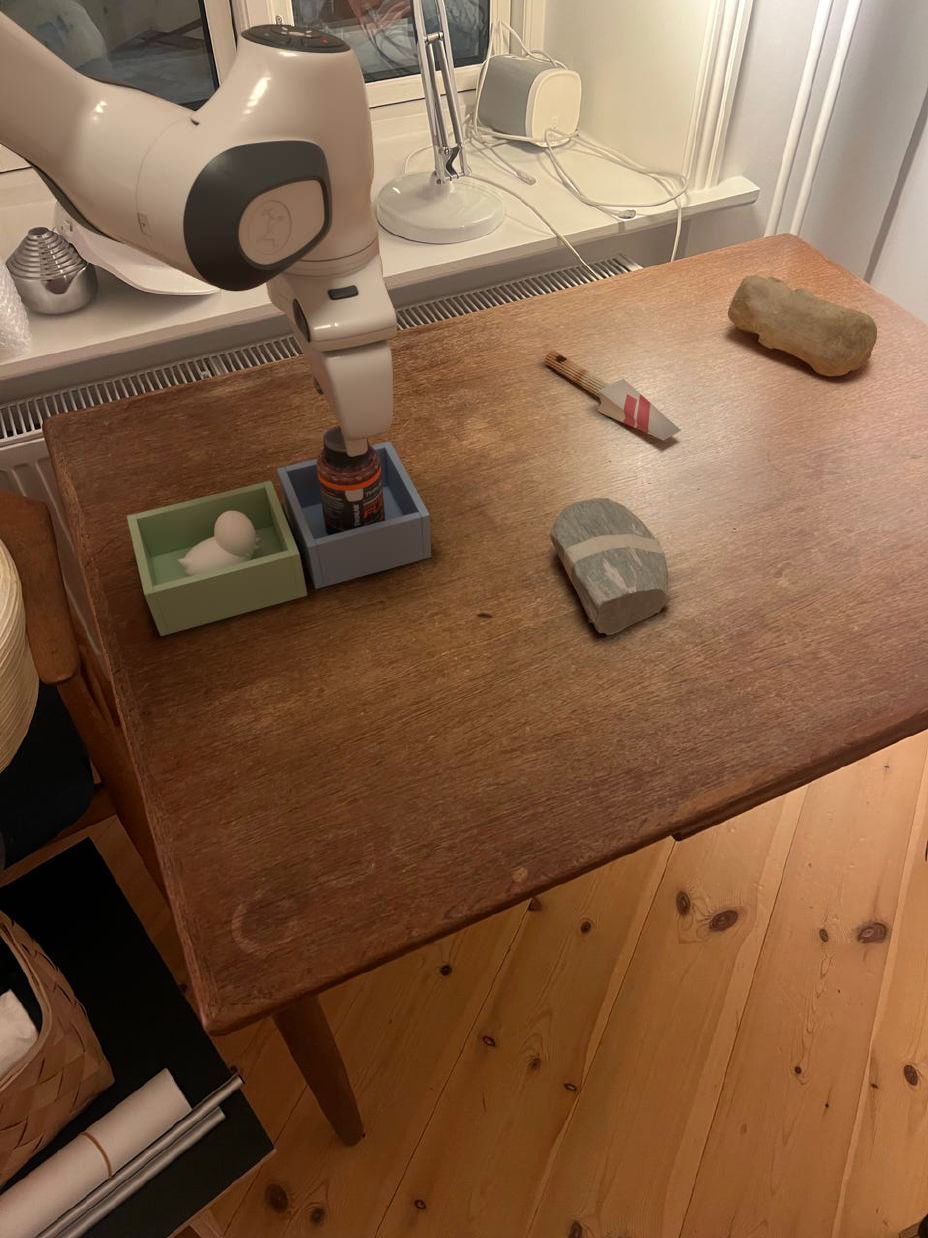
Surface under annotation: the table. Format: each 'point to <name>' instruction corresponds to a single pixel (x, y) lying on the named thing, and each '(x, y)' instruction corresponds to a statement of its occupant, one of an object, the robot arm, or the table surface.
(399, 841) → the table surface
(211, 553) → the toy creature
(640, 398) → the trowel
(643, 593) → the decorative stone
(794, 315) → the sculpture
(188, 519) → the sage bin
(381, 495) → the supplement bottle
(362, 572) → the blue bin
